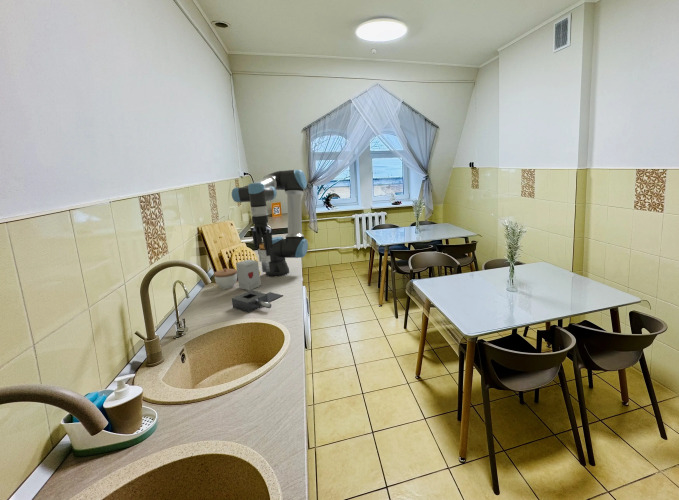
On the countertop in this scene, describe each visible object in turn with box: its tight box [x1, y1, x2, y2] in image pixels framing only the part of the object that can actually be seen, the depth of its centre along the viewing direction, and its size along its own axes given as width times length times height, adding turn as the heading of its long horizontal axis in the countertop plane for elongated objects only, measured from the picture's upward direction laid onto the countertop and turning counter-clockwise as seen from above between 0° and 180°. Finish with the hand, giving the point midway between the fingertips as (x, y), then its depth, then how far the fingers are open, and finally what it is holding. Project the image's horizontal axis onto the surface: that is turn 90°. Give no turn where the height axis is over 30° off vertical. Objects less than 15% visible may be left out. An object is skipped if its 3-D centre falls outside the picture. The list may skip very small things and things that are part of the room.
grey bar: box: [259, 242, 270, 273], centre depth 163 cm, size 4×4×14 cm
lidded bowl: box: [213, 267, 238, 290], centre depth 187 cm, size 13×13×11 cm
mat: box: [266, 291, 284, 303], centre depth 168 cm, size 10×10×1 cm
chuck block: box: [231, 289, 272, 313], centre depth 155 cm, size 12×20×5 cm, turn 53°
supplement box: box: [235, 259, 262, 291], centre depth 184 cm, size 9×9×15 cm
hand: (265, 261), depth 163 cm, fingers closed on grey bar, 4 cm apart
